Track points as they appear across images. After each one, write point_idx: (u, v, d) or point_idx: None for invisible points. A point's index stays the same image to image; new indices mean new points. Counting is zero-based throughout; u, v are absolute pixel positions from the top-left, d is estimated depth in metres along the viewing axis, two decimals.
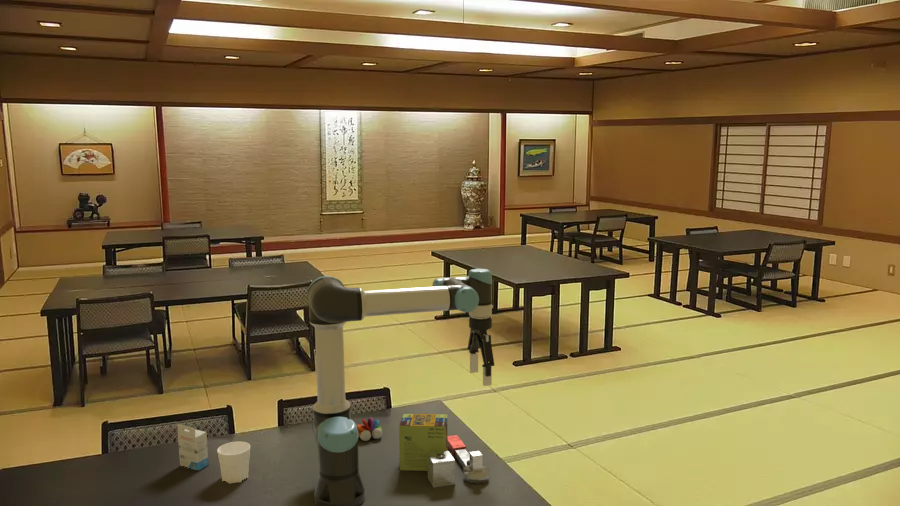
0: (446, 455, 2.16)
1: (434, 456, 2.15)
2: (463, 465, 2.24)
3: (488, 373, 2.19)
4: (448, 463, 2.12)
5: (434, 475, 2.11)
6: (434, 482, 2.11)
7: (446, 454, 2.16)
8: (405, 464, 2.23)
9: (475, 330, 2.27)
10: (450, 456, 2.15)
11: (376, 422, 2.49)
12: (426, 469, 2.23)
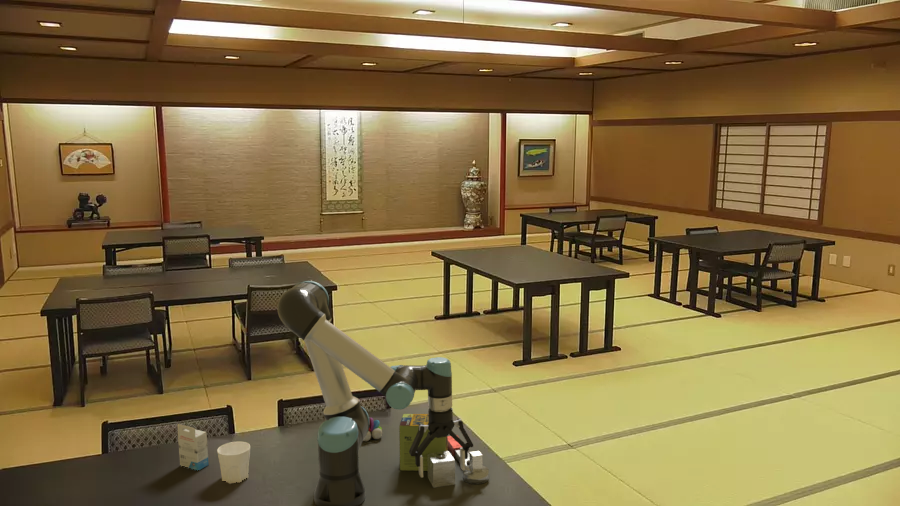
0: (446, 455, 2.16)
1: (434, 456, 2.15)
2: None
3: (415, 462, 2.13)
4: (448, 463, 2.12)
5: (434, 475, 2.11)
6: (434, 482, 2.11)
7: (446, 454, 2.16)
8: (405, 464, 2.23)
9: None
10: (450, 456, 2.15)
11: (376, 422, 2.49)
12: (426, 469, 2.23)
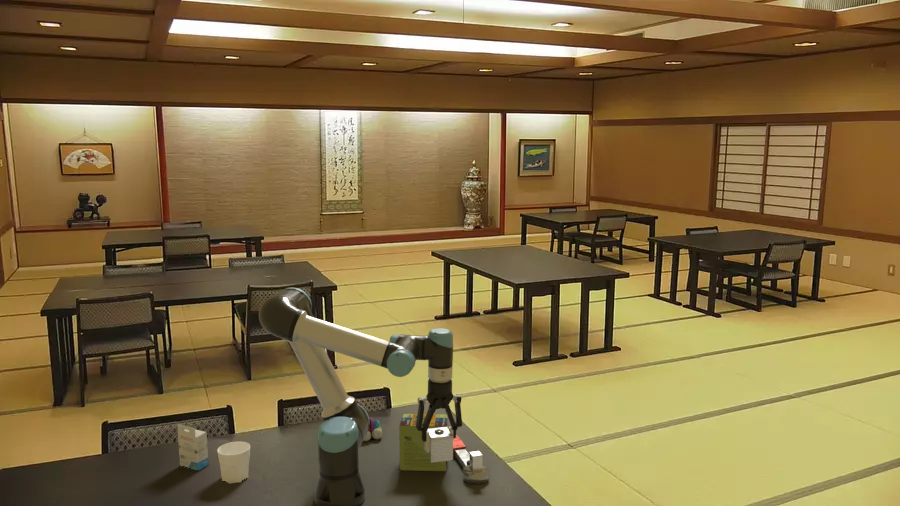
0: (444, 431, 2.14)
1: (432, 431, 2.14)
2: (463, 465, 2.24)
3: (422, 437, 2.13)
4: (446, 438, 2.11)
5: (432, 450, 2.10)
6: (432, 457, 2.10)
7: (444, 430, 2.15)
8: (405, 464, 2.23)
9: None
10: (448, 432, 2.14)
11: (376, 422, 2.49)
12: (426, 469, 2.23)
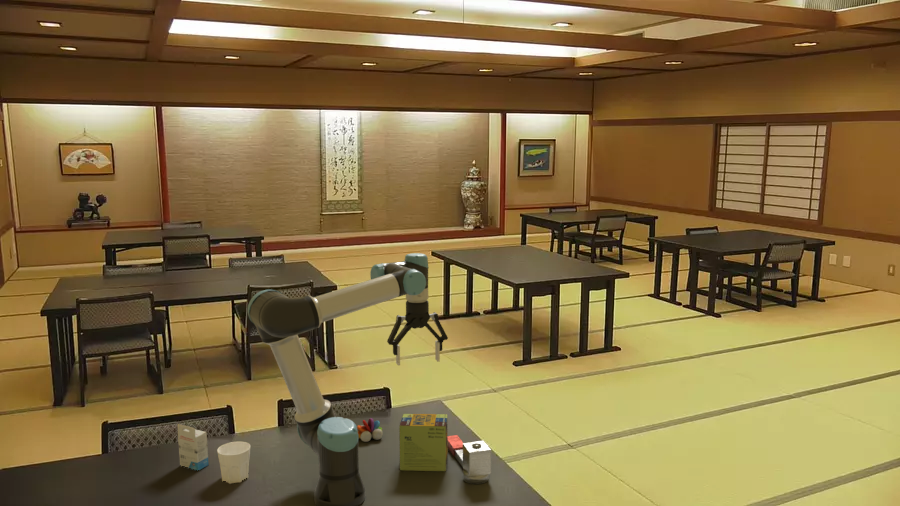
0: (481, 445, 2.16)
1: (469, 445, 2.16)
2: None
3: (393, 351, 2.27)
4: (484, 452, 2.13)
5: (470, 464, 2.12)
6: (470, 471, 2.12)
7: (481, 444, 2.17)
8: (405, 464, 2.23)
9: None
10: (486, 446, 2.16)
11: (376, 423, 2.49)
12: (426, 469, 2.23)
